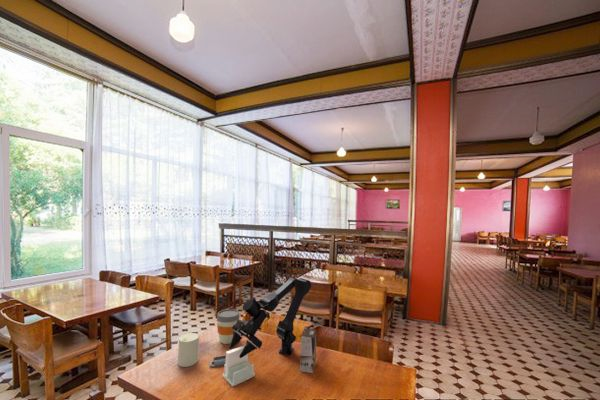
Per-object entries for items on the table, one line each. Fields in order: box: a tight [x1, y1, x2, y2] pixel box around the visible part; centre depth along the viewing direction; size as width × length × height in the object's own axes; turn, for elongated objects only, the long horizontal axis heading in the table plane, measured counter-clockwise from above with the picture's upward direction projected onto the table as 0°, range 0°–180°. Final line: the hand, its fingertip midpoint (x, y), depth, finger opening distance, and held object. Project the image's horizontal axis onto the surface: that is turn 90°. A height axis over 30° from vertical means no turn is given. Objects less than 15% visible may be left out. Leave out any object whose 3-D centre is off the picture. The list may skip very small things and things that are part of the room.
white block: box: [225, 344, 249, 377], centre depth 118 cm, size 10×2×10 cm, turn 133°
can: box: [176, 332, 200, 368], centre depth 127 cm, size 9×9×12 cm
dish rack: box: [222, 360, 256, 387], centre depth 117 cm, size 11×9×5 cm
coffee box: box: [299, 328, 317, 374], centre depth 125 cm, size 9×6×16 cm
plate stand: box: [208, 354, 226, 369], centre depth 126 cm, size 13×4×2 cm, turn 112°
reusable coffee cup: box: [216, 308, 241, 345], centre depth 149 cm, size 13×13×15 cm
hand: (234, 353), depth 117 cm, fingers open, 9 cm apart
